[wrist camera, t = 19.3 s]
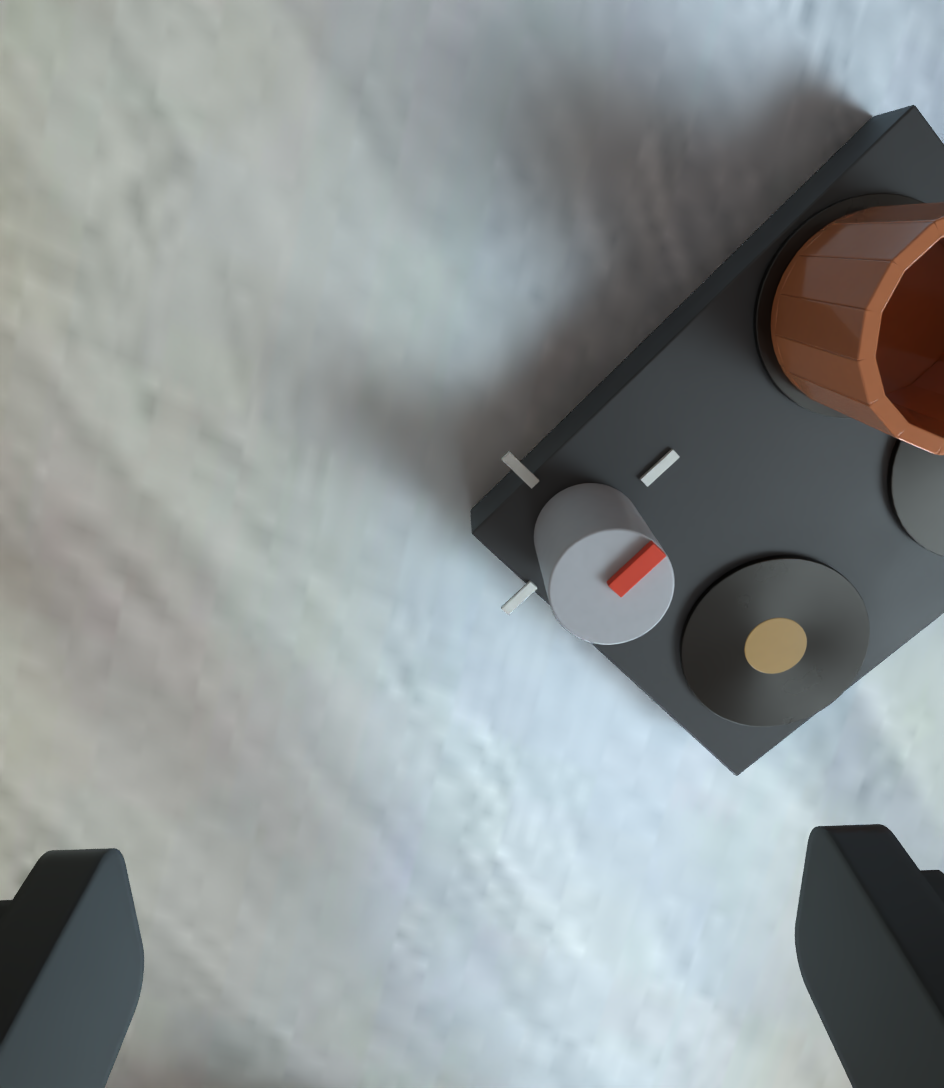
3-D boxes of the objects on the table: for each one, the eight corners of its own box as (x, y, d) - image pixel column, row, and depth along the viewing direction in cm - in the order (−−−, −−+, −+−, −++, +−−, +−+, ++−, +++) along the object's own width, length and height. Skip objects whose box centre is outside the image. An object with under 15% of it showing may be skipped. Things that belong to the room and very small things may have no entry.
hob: (424, 513, 30) (421, 538, 28) (852, 87, 26) (895, 71, 23) (694, 757, 34) (713, 799, 32) (1107, 424, 30) (1167, 441, 27)
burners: (500, 513, 28) (501, 516, 27) (884, 141, 24) (890, 140, 24) (758, 754, 31) (761, 759, 31) (1127, 462, 28) (1135, 464, 27)
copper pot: (730, 313, 25) (809, 335, 20) (889, 161, 24) (1023, 138, 18) (847, 446, 27) (951, 502, 21) (1003, 310, 25) (1159, 331, 20)
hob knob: (585, 603, 29) (611, 673, 24) (511, 536, 28) (522, 595, 23) (663, 532, 28) (704, 589, 23) (588, 459, 27) (616, 506, 23)
